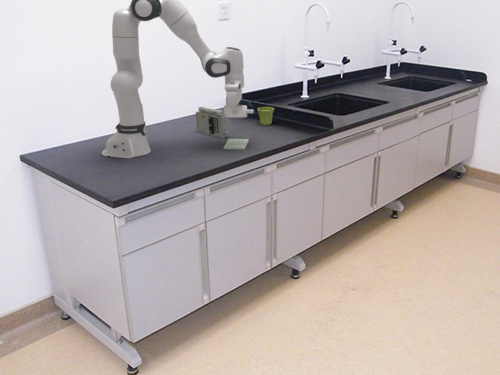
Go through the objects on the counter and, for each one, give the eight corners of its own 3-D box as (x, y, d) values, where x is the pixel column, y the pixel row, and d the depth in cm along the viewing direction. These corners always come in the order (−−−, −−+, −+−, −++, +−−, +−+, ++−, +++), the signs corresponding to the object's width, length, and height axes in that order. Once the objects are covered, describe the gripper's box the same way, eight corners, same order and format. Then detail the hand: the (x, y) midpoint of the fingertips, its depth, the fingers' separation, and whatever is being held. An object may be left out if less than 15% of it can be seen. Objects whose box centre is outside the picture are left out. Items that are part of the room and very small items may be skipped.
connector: (223, 117, 235) (223, 106, 233) (225, 115, 239) (224, 104, 237) (252, 117, 233) (252, 107, 232) (253, 115, 237) (253, 105, 235)
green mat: (223, 149, 236) (223, 147, 236) (229, 140, 249) (229, 138, 249) (244, 149, 235) (244, 147, 234) (248, 141, 248) (248, 139, 247)
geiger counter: (193, 106, 260) (226, 113, 244) (202, 104, 264) (235, 110, 248) (195, 132, 265) (228, 140, 249) (204, 129, 269) (236, 137, 254)
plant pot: (259, 126, 272) (259, 111, 269) (255, 122, 280) (255, 107, 277) (276, 125, 274) (276, 110, 271) (271, 121, 282) (271, 106, 279)
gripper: (231, 79, 240) (232, 107, 246) (223, 87, 222) (225, 117, 227) (244, 79, 240) (245, 107, 245) (237, 87, 221) (238, 117, 226)
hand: (235, 112), depth 236 cm, fingers closed on connector, 4 cm apart
